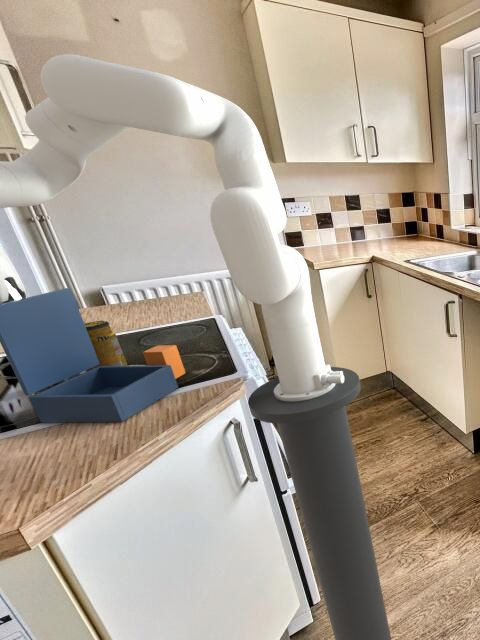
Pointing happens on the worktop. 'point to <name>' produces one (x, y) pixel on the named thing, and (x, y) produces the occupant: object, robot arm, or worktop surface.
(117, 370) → the lunchbox
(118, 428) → the worktop surface
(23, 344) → the lid
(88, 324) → the condiment
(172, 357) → the orange rectangular block
